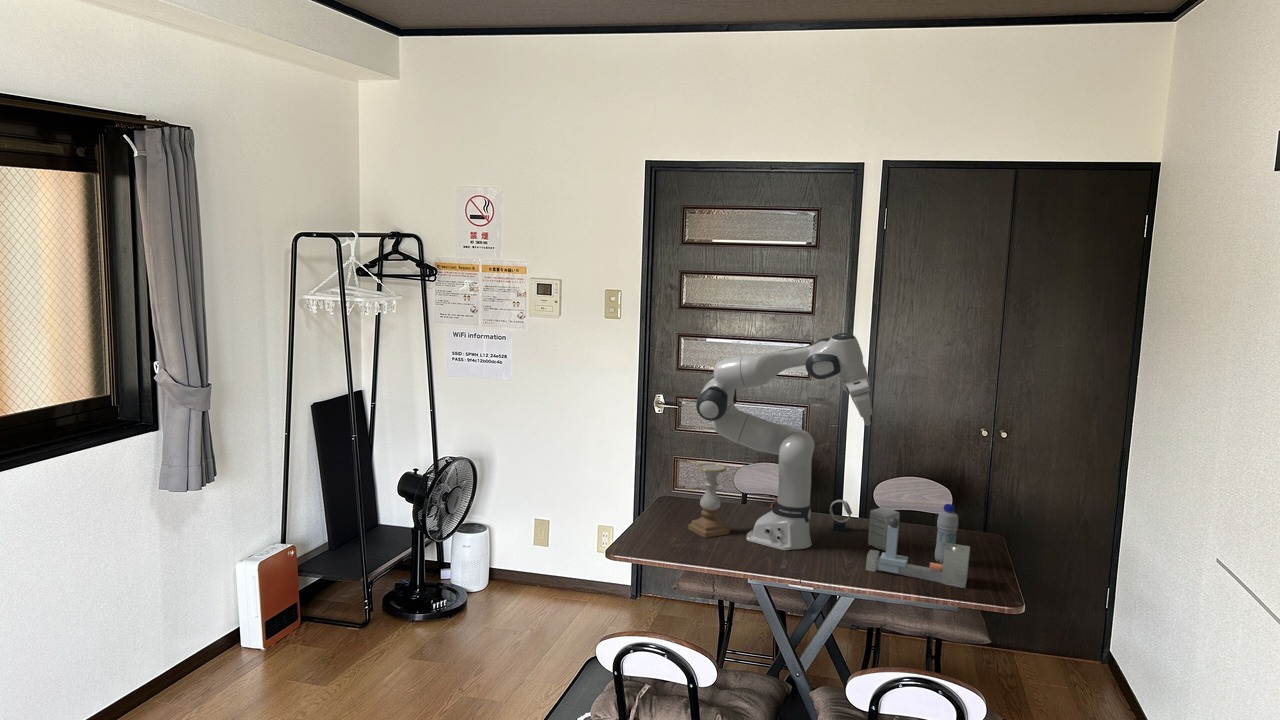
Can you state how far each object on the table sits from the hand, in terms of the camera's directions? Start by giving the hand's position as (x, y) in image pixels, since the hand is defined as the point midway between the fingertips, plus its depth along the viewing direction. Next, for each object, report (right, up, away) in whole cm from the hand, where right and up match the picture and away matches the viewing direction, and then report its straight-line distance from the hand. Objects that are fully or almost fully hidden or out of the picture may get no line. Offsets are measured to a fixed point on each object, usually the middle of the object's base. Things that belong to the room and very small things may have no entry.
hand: (865, 419), depth 278 cm
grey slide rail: (+14, -49, -7) cm, 51 cm away
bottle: (+28, -48, +5) cm, 56 cm away
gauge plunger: (+21, -46, -12) cm, 52 cm away
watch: (0, -43, +35) cm, 56 cm away
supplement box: (+11, -46, +19) cm, 51 cm away
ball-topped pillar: (+7, -48, -5) cm, 49 cm away
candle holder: (-49, -42, +27) cm, 70 cm away
